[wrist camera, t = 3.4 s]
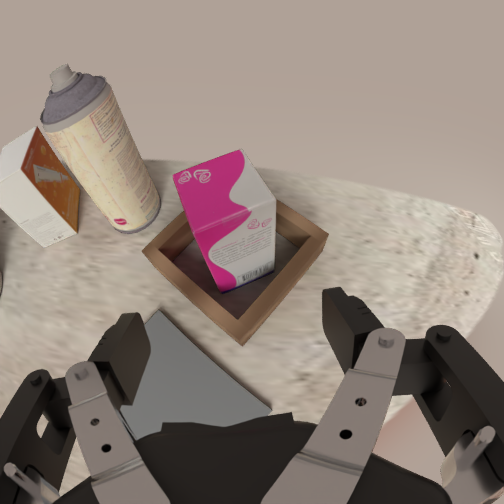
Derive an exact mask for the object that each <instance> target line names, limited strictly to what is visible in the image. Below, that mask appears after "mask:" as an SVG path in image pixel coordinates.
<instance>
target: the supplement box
mask: <svg viewBox="0 0 504 504" xmlns="http://www.w3.org/2000/svg"><path fill="white" fill-rule="evenodd" d="M173 180H174V183H175V185H176V188H177V191H178V194H179V197H180V200H181V203H182V206H183V208H184V211H185V214H186V217H187V220H188V222H189V225H190V228H191V230H192V233H193V235H194V237H195V240H196V242H197V244H198V246H199V248H200V250H201V253H202V255H203V257H204V259H205V261H206V263H207V266H208V268H209V270H210V272H211V274H212V276H213V278H214V280H215V282H216V285H217V287H218V289H219V291H220V292H221V293H222V294H224V293H227V292H229V291H231V290H234V289H236V288H239V287H241V286H243V285H246V284H248V283H250V282H253V281H255V280H257V279H259V278H262V277H264V276H266V275H268V274H270V273H273V272H274V268H275V230H276V198H275V197H274V195H273V194H272V192H271V191H270V189H269V188H268V186H267V185H266V183H265V182H264V181H263V179H262V178H261V176H260V175H259V173H258V172H257V170H256V169H255V167H254V166H253V164H252V163H251V162H250V160H249V158H248V157H247V155H246V154H245V153H244V151H243V149H240V150H237V151H234V152H231V153H228V154H226V155H223V156H220V157H217V158H215V159H212V160H209V161H207V162H204V163H201V164H199V165H196V166H194V167H191V168H188V169H186V170H183V171H181V172H179V173H176V174H174V175H173Z"/></svg>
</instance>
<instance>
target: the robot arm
mask: <svg viewBox="0 0 504 504" xmlns="http://www.w3.org/2000/svg"><path fill="white" fill-rule="evenodd" d="M1 288H2V274H1V270H0V293H1ZM322 323H323V329H324V333H325V335H326V337H327V339H328V341H329V343H330V345H331V347H332V349H333V351H334V353H335V355H336V357H337V360H338V362H339V364H340V366H341V368H342V370H343V372H344V374H345V376H344V378H343V380H342V382H341V384H340V386H339V388H338V390H337V392H336V394H335V396H334V397H333V399H332V401H331V403H330V405H329V407H328V408H327V410H326V412H325V414H324V415H323V417H322V419H321V420H320V422H319V424H318V425H317V424H314V423H309V422H302V421H294V420H293V416H292V412H290V413H284V414H277V415H270V416H263V417H257V418H254V419H251V420H248V421H245V422H241V423H238V424H234V425H231V426H227V427H221V426H214V425H207V424H201V423H195V422H162V427H161V431H159V432H155V433H152V434H149V435H146V436H144V437H142V438H140V439H137V438H136V436H135V434H134V433H133V431H132V429H131V428H130V426H129V424H128V422H127V421H126V419H125V417H124V415H123V413H122V412H121V410H120V408H121V406H122V405H127V406H132V405H133V402H134V399H135V396H136V393H137V391H138V388H139V385H140V382H141V379H142V376H143V373H144V371H145V368H146V365H147V362H148V360H149V357H150V354H151V345H150V341H149V338H148V335H147V332H146V329H145V326H144V323H143V320H142V318H141V315H140V314H139V313H138V312H136V313H124V314H122V315H121V316H120V318H119V319H118V321H117V323H116V324H115V325H113V326H112V327H110V328H109V329H108V330H107V331H106V332H105V333H104V335H103V336H102V339H101V340H100V341H99V343H98V345H97V346H96V348H95V349H94V351H93V352H92V354H91V356H90V357H89V359H88V361H84V362H79V363H77V364H75V365H73V366H72V367H70V368H69V369H68V371H67V372H66V375H65V377H63V378H57V379H52V377H51V376H50V374H49V372H48V371H47V370H43V369H40V370H36V371H34V372H32V373H30V374H29V375H28V376H27V377H26V378H25V379H24V381H23V383H22V384H21V386H20V387H19V389H18V390H17V392H16V393H15V395H14V397H13V398H12V400H11V401H10V403H9V405H8V406H7V408H6V410H5V412H4V413H3V415H2V417H1V418H0V504H492V503H493V502H494V501H495V500H497V499H498V498H499V497H500V496H502V495H503V494H504V382H503V381H502V380H501V378H500V377H499V376H498V375H497V374H496V373H495V371H494V370H493V369H492V368H491V367H490V366H489V365H488V364H487V362H486V361H485V360H484V359H483V358H482V357H481V356H480V355H479V354H478V352H476V350H475V349H474V348H473V347H472V346H471V345H470V344H469V343H468V342H467V341H466V340H465V338H464V337H463V336H462V335H461V334H460V333H459V332H458V331H457V330H456V329H454V328H452V327H450V326H446V325H436V326H432V327H431V328H429V329H428V330H427V332H426V336H425V338H423V339H405V336H404V335H403V334H402V333H401V332H400V331H398V330H395V329H392V328H385V327H384V326H383V325H382V323H381V322H380V321H379V320H378V319H377V317H376V316H375V315H374V314H373V313H372V312H371V310H370V309H369V308H367V305H366V304H365V303H364V302H363V301H362V300H361V299H359V298H357V297H355V296H347V295H346V293H345V292H344V291H343V289H342V288H341V287H335V288H329V289H324V290H323V292H322ZM447 382H448V383H447ZM449 385H450V386H449ZM410 394H412V395H413V397H414V399H415V400H416V402H417V404H418V406H419V407H420V409H421V411H422V413H423V415H424V417H425V418H426V420H427V422H428V424H429V425H430V428H431V430H432V432H433V433H434V435H435V437H436V439H437V441H438V443H439V445H440V447H441V449H442V451H443V453H444V455H445V457H446V458H445V459H444V461H443V462H442V465H441V469H440V472H441V477H442V486H441V485H439V484H438V483H436V482H434V481H432V480H430V479H427V478H425V477H423V476H420V475H418V474H416V473H413V472H411V471H409V470H407V469H404V468H402V467H400V466H398V465H396V464H394V463H392V462H390V461H388V460H386V459H384V458H382V457H380V456H377V455H375V454H374V453H372V451H373V449H374V446H375V444H376V441H377V438H378V436H379V433H380V430H381V428H382V425H383V422H384V419H385V416H386V413H387V410H388V407H389V404H390V401H391V398H392V396H397V395H410ZM42 414H43V415H44V416H45V418H46V419H47V420H48V421H49V422H48V424H47V426H46V428H45V431H44V433H43V435H42V438H40V437H39V435H38V433H37V428H36V427H37V423H38V421H39V419H40V417H41V415H42ZM76 437H77V440H78V443H79V446H80V448H81V451H82V454H83V457H84V459H85V462H86V464H87V467H88V469H89V472H90V474H91V476H89V477H88V478H87V479H85V480H84V481H83V482H81V483H80V484H78V485H77V486H76V487H74V488H73V489H71V490H70V491H69V492H67V493H66V494H64V495H63V496H61V497H60V495H59V490H60V486H61V483H62V479H63V476H64V473H65V469H66V466H67V463H68V460H69V457H70V454H71V451H72V448H73V445H74V442H75V439H76Z"/></svg>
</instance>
